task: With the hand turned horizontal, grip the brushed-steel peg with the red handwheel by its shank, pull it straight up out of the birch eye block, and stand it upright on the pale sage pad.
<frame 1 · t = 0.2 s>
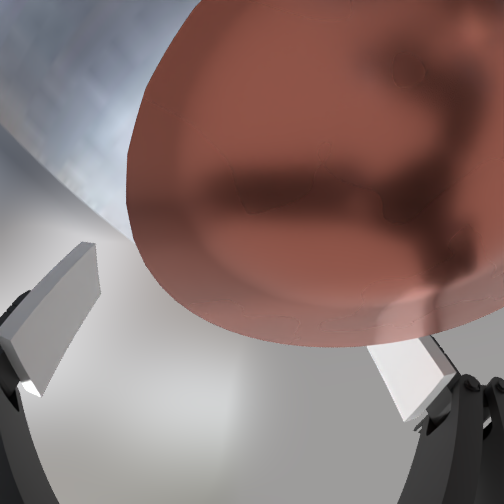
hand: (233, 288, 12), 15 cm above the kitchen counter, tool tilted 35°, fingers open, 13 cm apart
steel peg: (342, 61, 8), in the eye block
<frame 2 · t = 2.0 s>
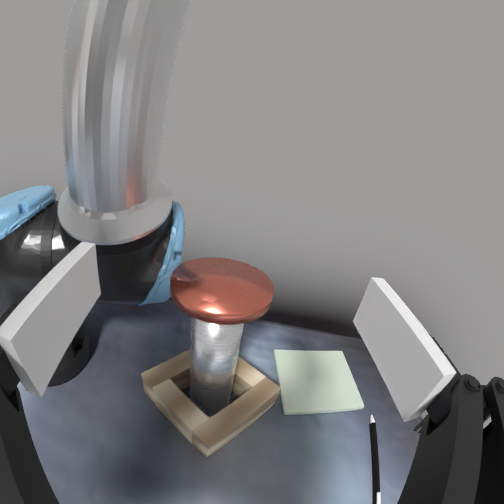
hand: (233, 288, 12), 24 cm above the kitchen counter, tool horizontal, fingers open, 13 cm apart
eye block: (209, 401, 31), on the kitchen counter
pen: (373, 472, 22), on the kitchen counter
steel peg: (214, 354, 27), in the eye block, touching arm
sage pad: (316, 380, 36), on the kitchen counter
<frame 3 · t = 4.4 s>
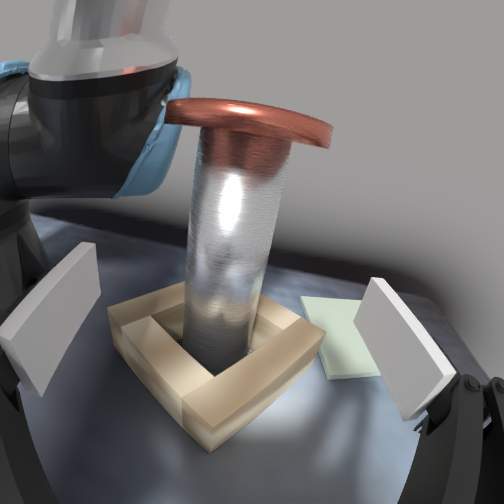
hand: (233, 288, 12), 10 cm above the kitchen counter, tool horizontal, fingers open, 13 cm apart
eye block: (212, 360, 21), on the kitchen counter
steel peg: (226, 262, 17), in the eye block
sage pad: (362, 334, 27), on the kitchen counter
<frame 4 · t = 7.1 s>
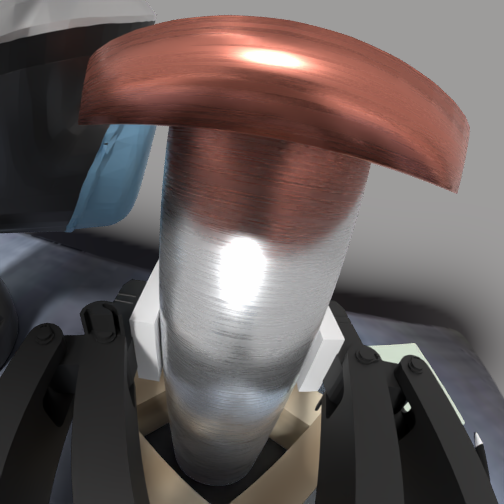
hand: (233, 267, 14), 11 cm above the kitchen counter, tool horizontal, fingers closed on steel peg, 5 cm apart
eye block: (213, 452, 13), on the kitchen counter
steel peg: (229, 366, 10), in the eye block, touching gripper
sage pad: (394, 393, 19), on the kitchen counter
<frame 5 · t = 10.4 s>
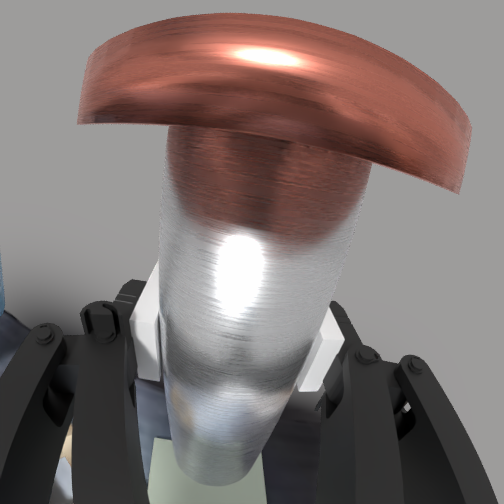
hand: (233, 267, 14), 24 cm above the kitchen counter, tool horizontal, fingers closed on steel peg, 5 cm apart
steel peg: (229, 367, 10), point 23 cm above the kitchen counter, touching gripper
sage pad: (206, 491, 19), on the kitchen counter
when the fingers open (12 cm above the kitchen counter, at t = 13.9 s): steel peg stays where it is, resting on sage pad.
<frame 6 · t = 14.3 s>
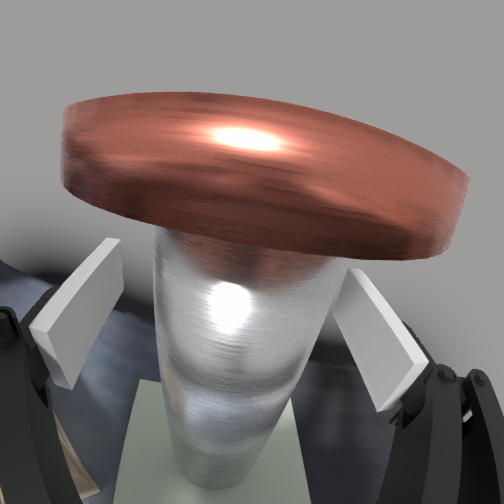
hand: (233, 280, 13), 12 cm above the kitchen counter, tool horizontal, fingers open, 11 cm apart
eye block: (3, 444, 8), on the kitchen counter
steel peg: (225, 383, 10), on the sage pad, point 10 cm above the kitchen counter
sage pad: (213, 459, 14), on the kitchen counter
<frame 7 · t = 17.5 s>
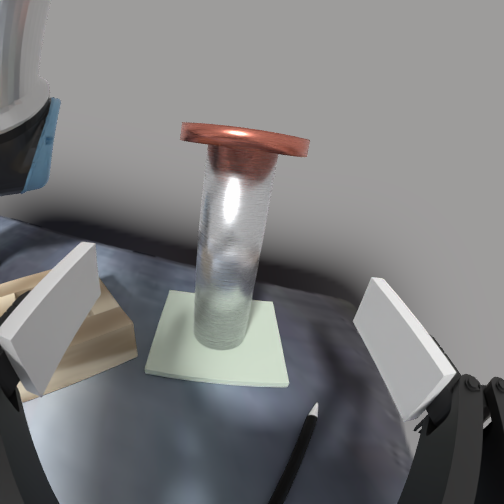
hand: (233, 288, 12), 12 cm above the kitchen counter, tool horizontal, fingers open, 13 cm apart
eye block: (59, 336, 20), on the kitchen counter
pen: (275, 501, 12), on the kitchen counter
steel peg: (229, 246, 22), on the sage pad, point 10 cm above the kitchen counter
sage pad: (218, 335, 26), on the kitchen counter
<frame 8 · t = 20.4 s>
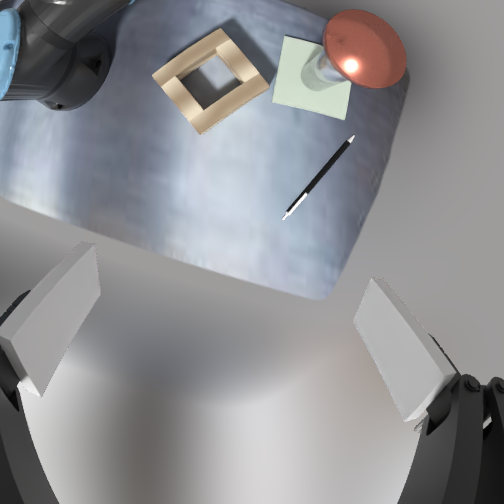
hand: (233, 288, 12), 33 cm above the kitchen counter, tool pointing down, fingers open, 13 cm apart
eye block: (211, 83, 35), on the kitchen counter
pen: (318, 175, 43), on the kitchen counter
steel peg: (336, 64, 26), on the sage pad, point 10 cm above the kitchen counter
sage pad: (314, 77, 35), on the kitchen counter
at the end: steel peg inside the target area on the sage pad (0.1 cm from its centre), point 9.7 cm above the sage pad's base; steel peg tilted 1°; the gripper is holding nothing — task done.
